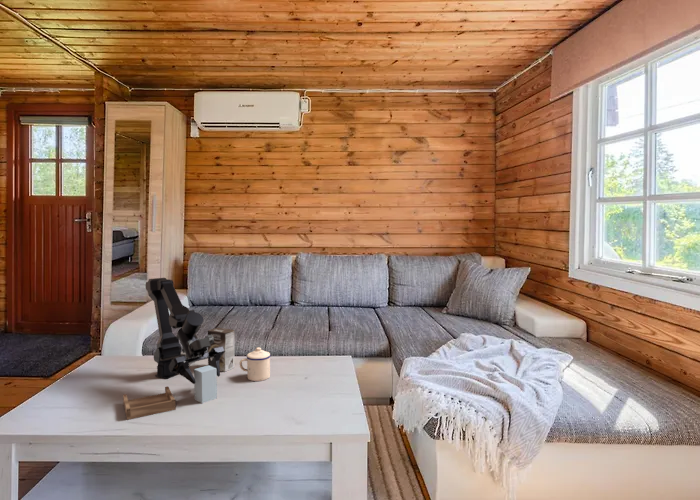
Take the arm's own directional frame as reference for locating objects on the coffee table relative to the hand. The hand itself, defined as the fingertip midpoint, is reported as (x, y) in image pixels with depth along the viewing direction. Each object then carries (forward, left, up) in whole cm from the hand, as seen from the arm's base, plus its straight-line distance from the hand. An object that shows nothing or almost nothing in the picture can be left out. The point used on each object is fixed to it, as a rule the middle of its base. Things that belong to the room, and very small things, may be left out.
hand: (207, 379), depth 147 cm
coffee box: (-26, -18, -7) cm, 33 cm away
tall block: (0, -1, -7) cm, 7 cm away
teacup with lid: (-24, +1, -7) cm, 25 cm away
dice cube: (-24, -35, -7) cm, 43 cm away
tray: (+13, -13, -7) cm, 19 cm away
